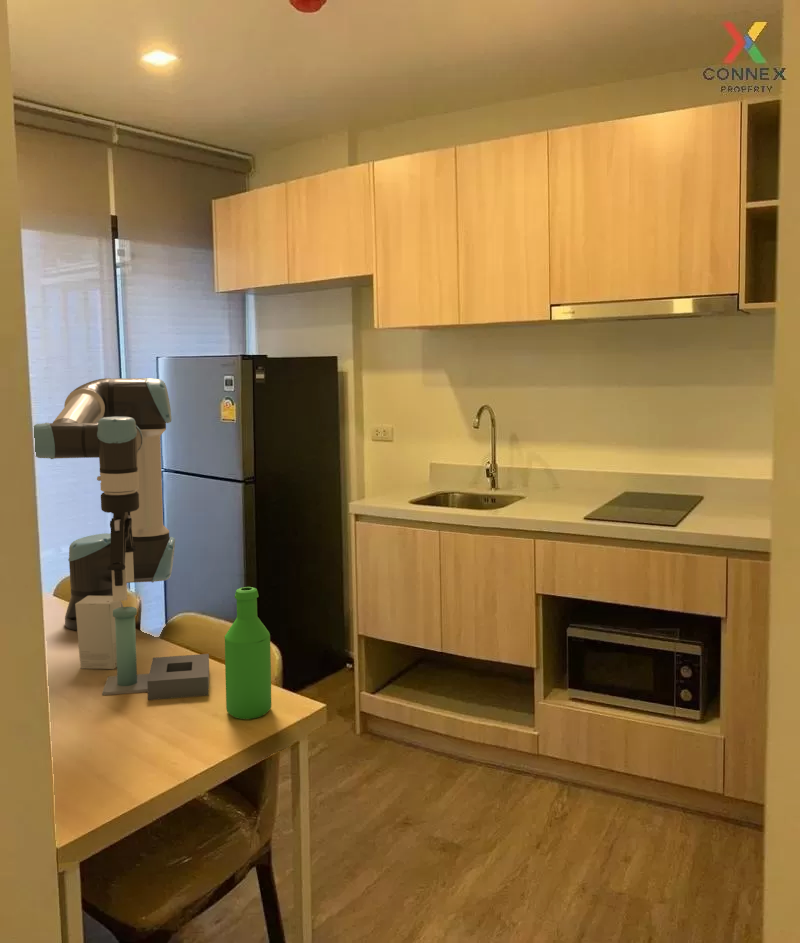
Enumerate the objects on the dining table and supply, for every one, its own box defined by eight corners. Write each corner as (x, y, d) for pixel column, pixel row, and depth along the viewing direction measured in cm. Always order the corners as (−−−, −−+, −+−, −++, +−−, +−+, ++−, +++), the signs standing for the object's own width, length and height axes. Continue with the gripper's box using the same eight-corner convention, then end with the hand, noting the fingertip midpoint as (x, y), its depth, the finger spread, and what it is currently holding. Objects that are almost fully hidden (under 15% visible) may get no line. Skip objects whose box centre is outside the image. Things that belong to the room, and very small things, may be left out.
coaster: (108, 679, 178) (107, 676, 178) (151, 676, 180) (150, 673, 180) (102, 695, 169) (102, 692, 169) (147, 691, 171) (147, 689, 171)
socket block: (153, 675, 181) (152, 657, 180) (209, 671, 183) (208, 653, 183) (148, 700, 167) (147, 681, 167) (208, 695, 170) (207, 676, 169)
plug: (116, 678, 177) (114, 607, 174) (140, 677, 178) (137, 606, 175) (114, 687, 172) (111, 614, 170) (137, 685, 173) (135, 612, 171)
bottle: (263, 699, 168) (261, 581, 164) (277, 715, 160) (275, 591, 157) (221, 707, 164) (218, 586, 160) (233, 724, 156) (230, 597, 153)
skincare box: (125, 660, 190) (123, 595, 188) (113, 670, 183) (110, 603, 181) (91, 659, 191) (88, 594, 189) (77, 669, 184) (74, 602, 182)
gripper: (108, 482, 181) (112, 575, 184) (91, 503, 157) (96, 609, 160) (143, 481, 182) (147, 573, 185) (132, 502, 158) (136, 607, 161)
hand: (123, 590), depth 173 cm, fingers open, 13 cm apart
